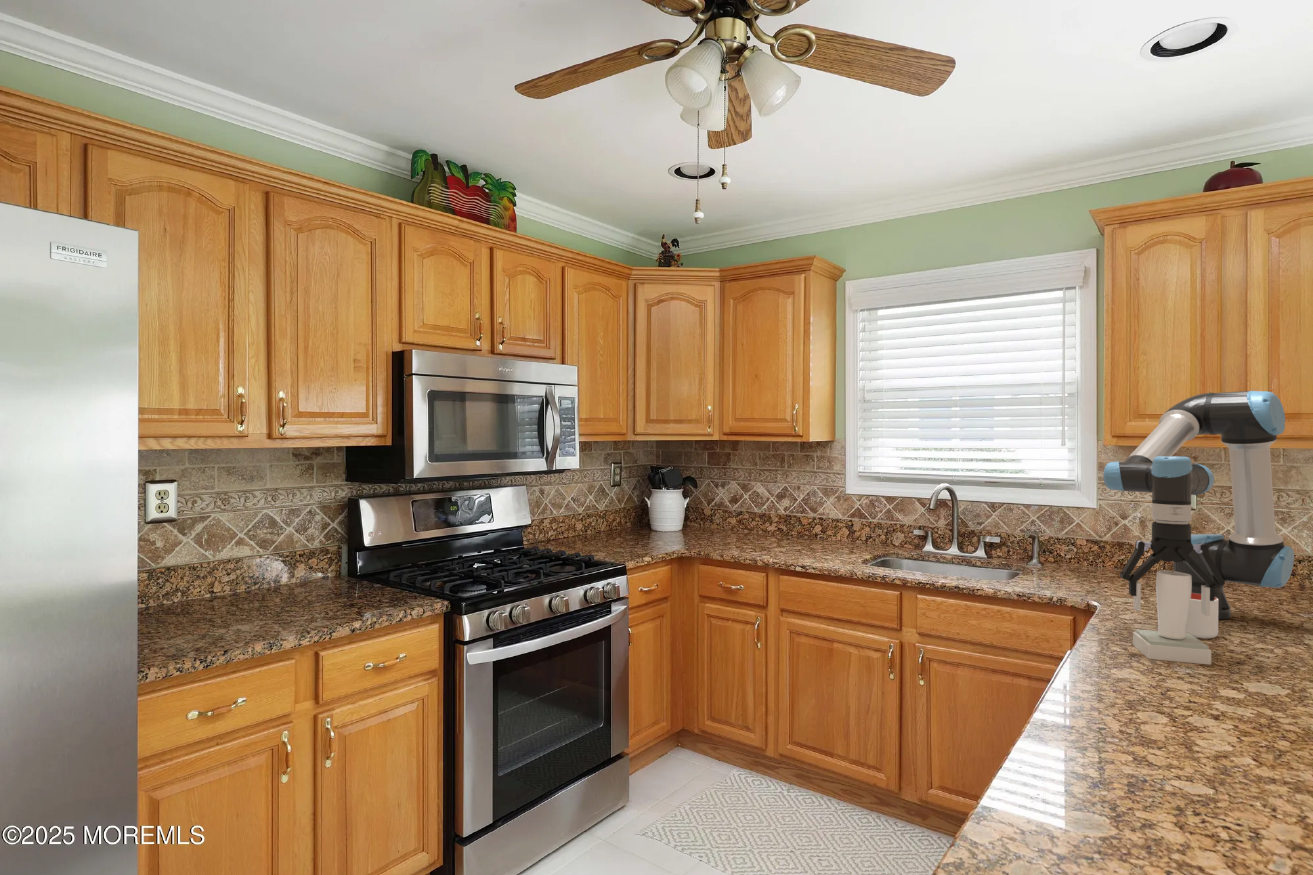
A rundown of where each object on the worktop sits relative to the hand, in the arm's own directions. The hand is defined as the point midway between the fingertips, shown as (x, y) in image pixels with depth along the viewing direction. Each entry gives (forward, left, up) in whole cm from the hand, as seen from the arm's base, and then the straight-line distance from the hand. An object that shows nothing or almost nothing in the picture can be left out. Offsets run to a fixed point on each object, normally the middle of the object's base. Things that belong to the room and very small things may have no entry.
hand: (1170, 612), depth 168 cm
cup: (-12, -23, -10) cm, 28 cm away
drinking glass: (0, 0, -6) cm, 6 cm away
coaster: (0, 0, -10) cm, 10 cm away
